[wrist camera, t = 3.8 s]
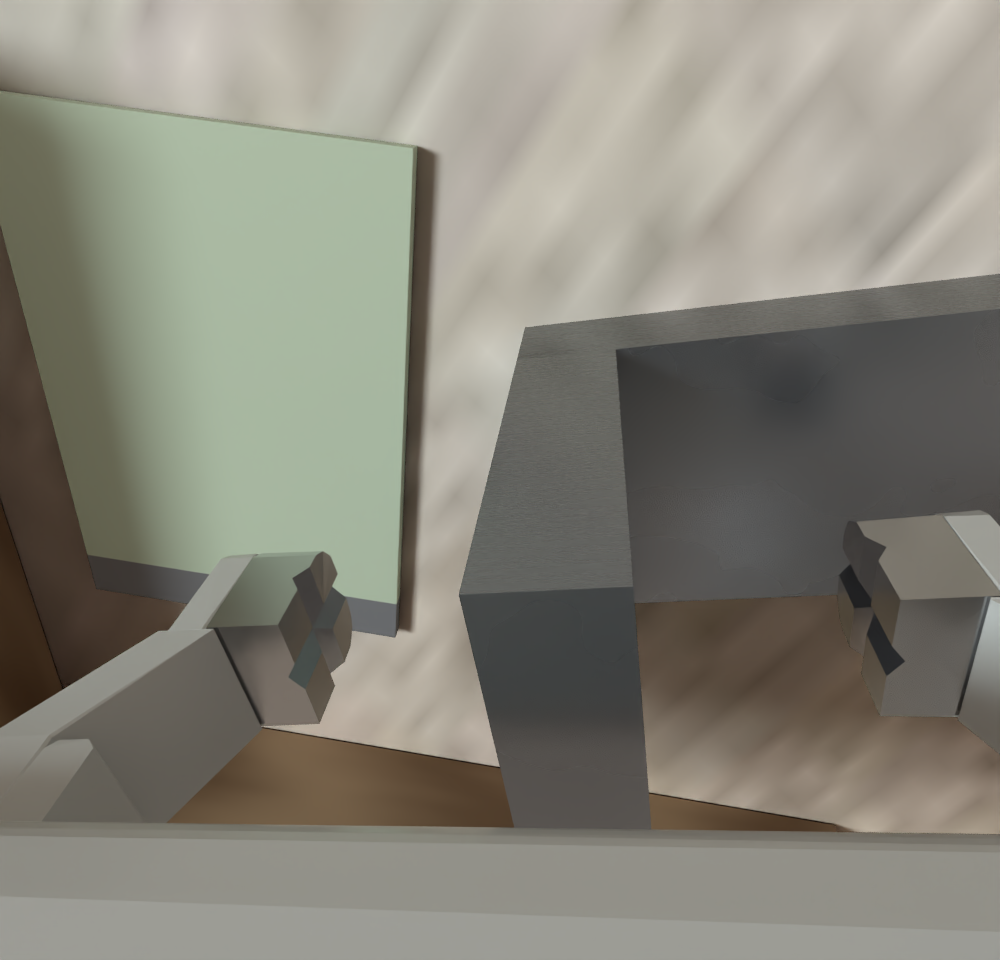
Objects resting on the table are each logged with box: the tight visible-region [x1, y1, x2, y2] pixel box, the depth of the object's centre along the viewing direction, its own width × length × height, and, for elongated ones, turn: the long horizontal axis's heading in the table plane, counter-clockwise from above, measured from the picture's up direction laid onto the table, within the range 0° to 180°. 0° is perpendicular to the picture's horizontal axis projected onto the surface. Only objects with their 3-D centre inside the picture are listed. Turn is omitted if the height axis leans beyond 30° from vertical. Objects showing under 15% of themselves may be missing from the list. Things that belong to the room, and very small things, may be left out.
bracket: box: [459, 274, 1000, 829], centre depth 10 cm, size 8×5×7 cm, turn 99°
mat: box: [0, 91, 417, 637], centre depth 13 cm, size 7×10×1 cm
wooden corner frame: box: [0, 502, 837, 832], centre depth 13 cm, size 22×17×5 cm
